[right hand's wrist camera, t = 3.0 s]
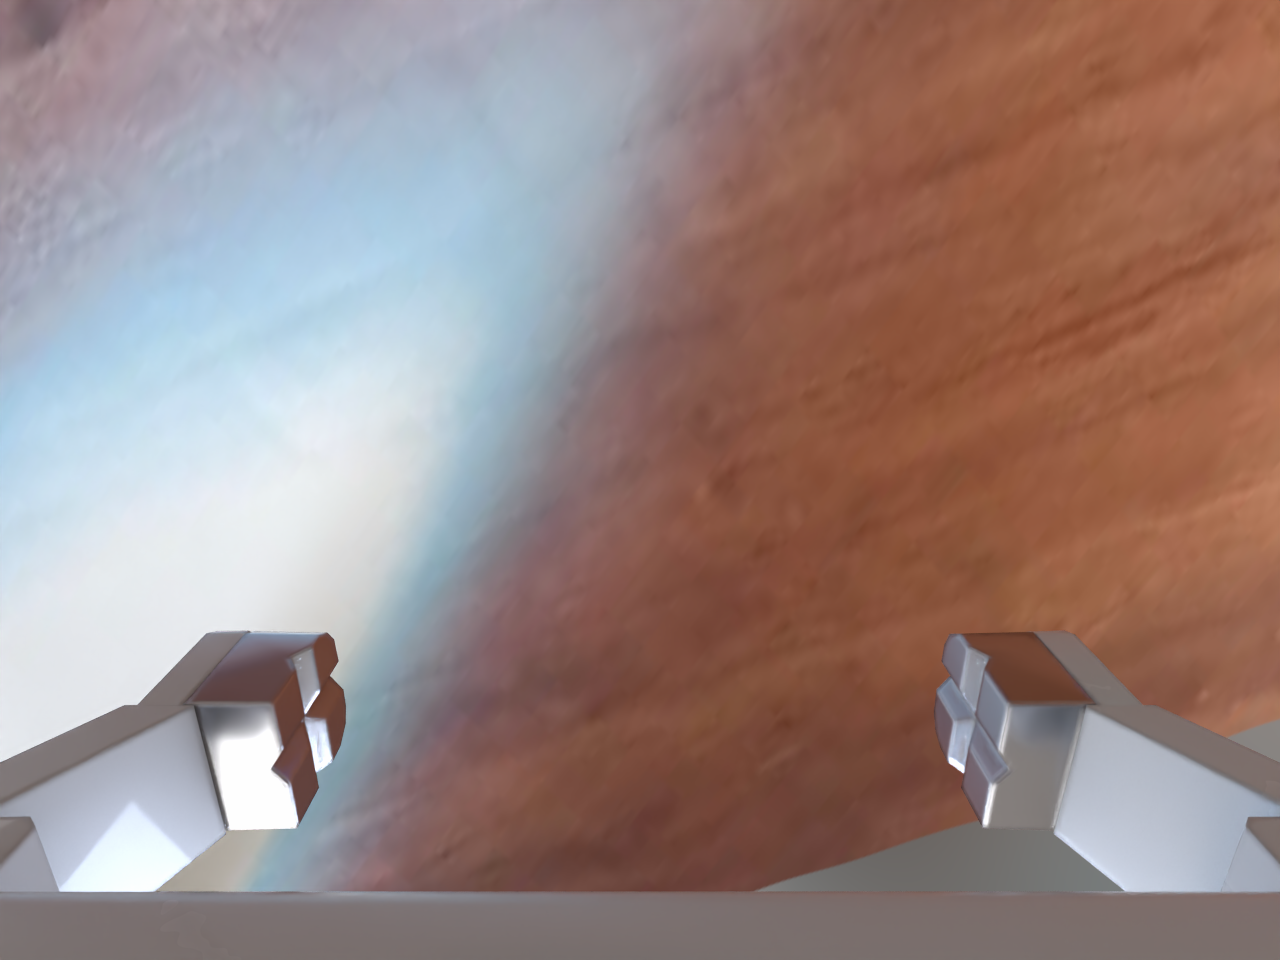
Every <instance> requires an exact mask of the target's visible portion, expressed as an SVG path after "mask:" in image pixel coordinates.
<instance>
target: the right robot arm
mask: <svg viewBox="0 0 1280 960" xmlns="http://www.w3.org/2000/svg"><path fill="white" fill-rule="evenodd" d="M337 663H338V656H337V652H336V647H335V642H334V639H333V638H332V637H331V636H330V635H329V634H328V633H319V632H269V631H253V632H250V631H215V632H211V633H207V634H206V635H205V636H204V637H203V638H202V639H201V640H200V641H199V642H198V643H197V644H196V645H195V646H194V647H193V648H192V649H191V650H190V651H189V652H188V653H187V654H186V655H185V656H184V657H183V658H182V659H181V660H180V661H179V662H178V663H177V664H176V666H175V667H174V668H173V669H172V670H171V671H170V672H169V673H168V674H167V675H166V676H165V677H164V678H163V679H162V680H161V681H160V682H159V683H158V684H157V685H156V686H155V687H154V688H153V689H152V690H151V691H150V692H149V693H148V694H147V696H146V697H145V698H144V699H143V700H142V701H141V702H140V703H139V704H138V705H124V706H122V707H120V708H117V709H115V710H113V711H111V712H109V713H107V714H104V715H102V716H100V717H98V718H96V719H94V720H91V721H89V722H87V723H85V724H83V725H81V726H78V727H76V728H74V729H72V730H70V731H68V732H65V733H63V734H61V735H59V736H57V737H55V738H52V739H50V740H48V741H46V742H44V743H42V744H39V745H37V746H35V747H33V748H31V749H29V750H26V751H24V752H22V753H20V754H18V755H16V756H13V757H11V758H9V759H7V760H5V761H3V762H0V960H1280V763H1279V762H1277V761H1275V760H1273V759H1271V758H1268V757H1266V756H1264V755H1262V754H1260V753H1258V752H1255V751H1253V750H1251V749H1249V748H1247V747H1245V746H1242V745H1240V744H1238V743H1236V742H1234V741H1232V740H1229V739H1227V738H1225V737H1223V736H1221V735H1219V734H1217V733H1214V732H1212V731H1210V730H1208V729H1206V728H1204V727H1201V726H1199V725H1197V724H1195V723H1193V722H1191V721H1188V720H1186V719H1184V718H1182V717H1180V716H1178V715H1176V714H1173V713H1171V712H1169V711H1167V710H1165V709H1163V708H1160V707H1158V706H1156V705H1142V704H1141V703H1140V702H1139V701H1138V700H1137V699H1136V698H1135V696H1134V695H1133V694H1132V693H1131V692H1130V691H1129V690H1128V689H1127V688H1126V687H1125V686H1124V685H1123V684H1122V683H1121V682H1120V681H1119V680H1118V679H1117V678H1116V677H1115V676H1114V675H1113V674H1112V673H1111V672H1110V671H1109V670H1108V668H1107V667H1106V666H1105V665H1104V664H1103V663H1102V662H1101V661H1100V660H1099V659H1098V658H1097V657H1096V656H1095V655H1094V654H1093V653H1092V652H1091V651H1090V650H1089V649H1088V648H1087V647H1086V646H1085V645H1084V644H1083V643H1082V642H1081V641H1080V639H1079V638H1078V637H1077V636H1076V635H1075V634H1072V633H1070V632H1067V631H1065V630H1061V631H1035V632H1009V633H969V634H949V636H948V639H947V641H946V643H945V645H944V650H943V656H942V663H943V664H944V666H945V668H946V669H947V671H948V673H949V674H950V677H949V678H948V679H947V680H946V681H945V682H944V683H943V684H942V685H941V686H940V687H939V688H938V689H937V691H936V699H935V707H934V717H935V729H936V734H937V738H938V741H939V744H940V748H941V750H942V752H943V754H944V756H945V758H946V760H947V762H948V763H950V764H951V765H953V766H954V767H956V768H957V769H959V770H960V771H962V772H963V773H964V775H963V781H962V786H961V788H962V790H963V792H964V794H965V796H966V797H967V799H968V801H969V803H970V805H971V807H972V809H973V810H974V812H975V814H976V816H977V818H978V820H979V822H980V823H981V825H982V827H983V828H985V829H1021V830H1055V831H1054V834H1055V835H1056V836H1057V837H1059V838H1060V839H1061V840H1062V841H1064V842H1065V843H1066V844H1067V845H1069V846H1070V847H1071V848H1072V849H1074V850H1075V851H1076V852H1077V853H1079V854H1080V855H1081V856H1082V857H1084V858H1085V859H1086V860H1087V861H1089V862H1090V863H1091V864H1092V865H1094V866H1095V867H1096V868H1097V869H1098V870H1100V871H1101V872H1102V873H1103V874H1105V875H1106V876H1107V877H1108V878H1110V879H1111V880H1112V881H1113V882H1115V883H1116V884H1117V885H1118V886H1120V887H1121V888H1122V889H1123V890H1125V891H1126V892H154V891H156V890H157V889H158V888H159V887H161V886H162V885H163V884H164V883H166V882H167V881H168V880H169V879H171V878H172V877H173V876H174V875H176V874H177V873H178V872H179V871H181V870H182V869H183V868H184V867H186V866H187V865H188V864H189V863H191V862H192V861H193V860H194V859H196V858H197V857H198V856H199V855H201V854H202V853H203V852H204V851H206V850H207V849H208V848H209V847H211V846H212V845H213V844H214V843H216V842H217V841H218V840H219V839H221V838H222V837H223V836H224V835H225V834H226V831H225V830H258V829H293V828H297V827H298V826H299V824H300V822H301V820H302V818H303V816H304V814H305V812H306V811H307V809H308V807H309V805H310V803H311V801H312V799H313V798H314V796H315V794H316V792H317V790H318V788H319V786H318V781H317V775H316V773H317V772H318V771H320V770H321V769H323V768H324V767H326V766H327V765H329V764H330V763H332V762H333V760H334V758H335V756H336V754H337V752H338V750H339V748H340V746H341V741H342V737H343V732H344V728H345V724H346V704H345V698H344V691H343V689H342V688H341V687H340V686H339V685H338V684H337V683H336V682H335V681H334V680H333V679H332V678H331V677H330V674H331V673H332V671H333V669H334V668H335V666H336V664H337Z"/></svg>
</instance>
